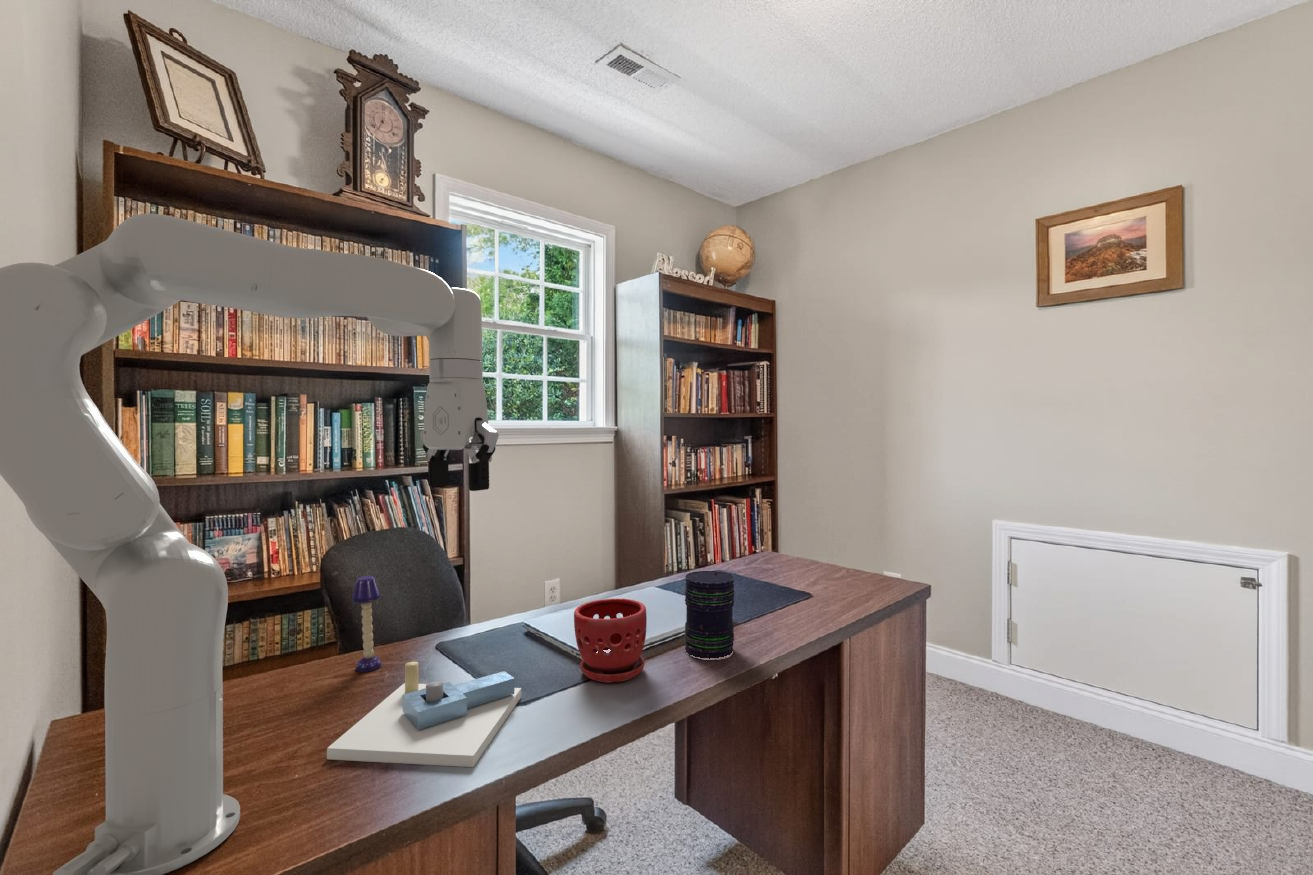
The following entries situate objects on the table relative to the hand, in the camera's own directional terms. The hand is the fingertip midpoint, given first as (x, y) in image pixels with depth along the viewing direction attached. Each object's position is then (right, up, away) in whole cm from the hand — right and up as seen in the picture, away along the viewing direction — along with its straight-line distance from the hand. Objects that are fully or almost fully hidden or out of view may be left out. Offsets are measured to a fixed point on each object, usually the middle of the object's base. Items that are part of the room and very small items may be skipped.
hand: (458, 488), depth 87 cm
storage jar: (+40, -35, +29) cm, 61 cm away
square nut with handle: (0, -33, +2) cm, 33 cm away
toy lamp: (-24, -35, +20) cm, 47 cm away
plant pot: (+21, -35, +18) cm, 45 cm away
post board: (-3, -35, -1) cm, 35 cm away
